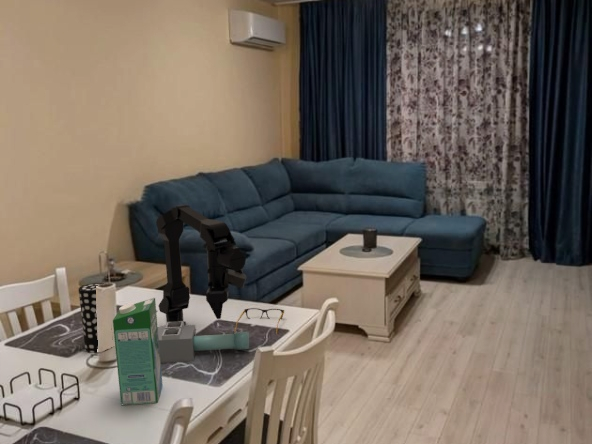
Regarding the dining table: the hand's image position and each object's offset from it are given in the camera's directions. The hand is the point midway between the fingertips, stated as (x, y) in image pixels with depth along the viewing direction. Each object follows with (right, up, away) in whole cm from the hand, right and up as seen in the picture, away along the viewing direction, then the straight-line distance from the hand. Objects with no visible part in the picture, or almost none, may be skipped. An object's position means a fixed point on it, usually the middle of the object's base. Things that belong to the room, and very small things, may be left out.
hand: (219, 313), depth 173 cm
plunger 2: (-13, -6, -6) cm, 16 cm away
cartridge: (-1, -11, -1) cm, 11 cm away
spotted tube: (-39, -12, +6) cm, 41 cm away
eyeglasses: (+11, -8, +20) cm, 24 cm away
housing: (-13, -12, -1) cm, 18 cm away
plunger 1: (-14, -4, 0) cm, 14 cm away
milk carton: (-16, -17, -26) cm, 35 cm away
